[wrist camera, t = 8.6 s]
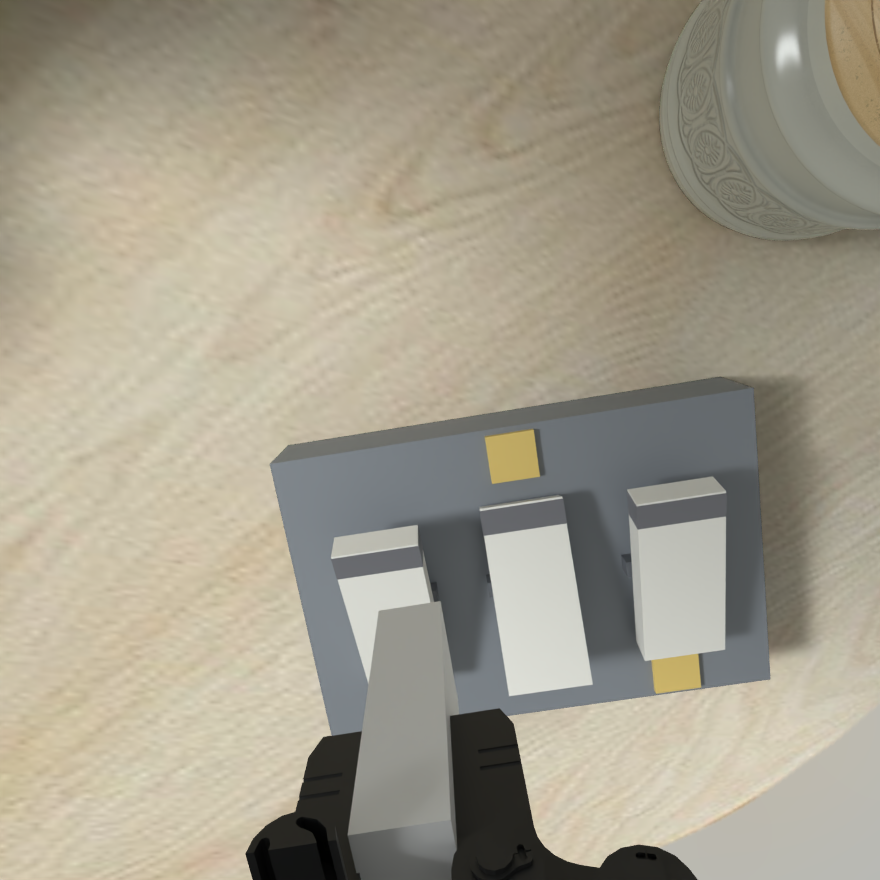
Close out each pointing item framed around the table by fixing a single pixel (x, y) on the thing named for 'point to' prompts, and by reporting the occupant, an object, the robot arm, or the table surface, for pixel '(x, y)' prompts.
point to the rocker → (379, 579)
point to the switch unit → (521, 478)
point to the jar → (777, 115)
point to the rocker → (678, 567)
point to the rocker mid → (535, 595)
